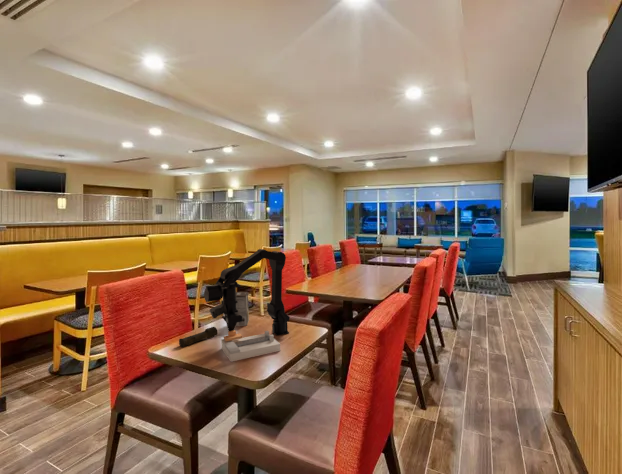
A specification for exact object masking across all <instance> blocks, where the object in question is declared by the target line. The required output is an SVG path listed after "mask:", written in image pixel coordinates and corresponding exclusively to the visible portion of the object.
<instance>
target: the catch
mask: <svg viewBox="0 0 622 474" xmlns="http://www.w3.org/2000/svg"><path fill="white" fill-rule="evenodd" d="M241 338H243V335H242V334H241V333H240V332H239V333H237V331H236V330H235V329H234V330H232V331H229V330H227V335H224V336H223V339H224V340H225V341H231V340H236V339H241Z"/></svg>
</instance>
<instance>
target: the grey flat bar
mask: <svg viewBox="0 0 622 474" xmlns="http://www.w3.org/2000/svg"><path fill="white" fill-rule="evenodd" d="M264 341H269V336H264V337H259V338H254V339H249V340H243V341H238V342H235V344H236V345H237V347H239V346H244V345H249V344H254V343H259V342H264Z"/></svg>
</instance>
